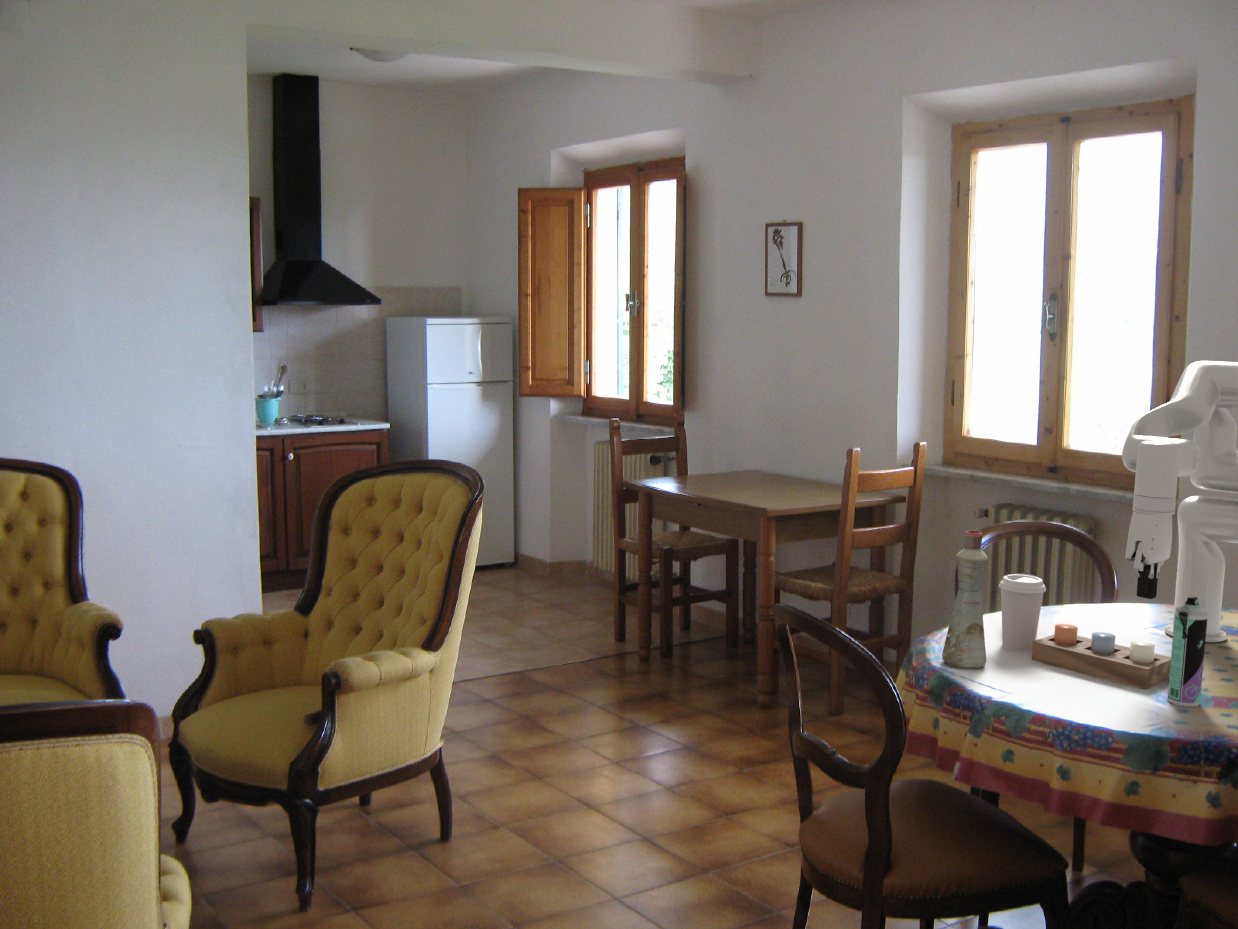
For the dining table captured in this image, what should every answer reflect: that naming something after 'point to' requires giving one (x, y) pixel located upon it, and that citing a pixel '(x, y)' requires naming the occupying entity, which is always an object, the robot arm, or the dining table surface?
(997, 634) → the dining table surface
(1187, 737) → the dining table surface
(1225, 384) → the robot arm
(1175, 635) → the spray can
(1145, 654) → the cream cylinder
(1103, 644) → the blue-grey egg
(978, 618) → the bottle
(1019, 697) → the dining table surface
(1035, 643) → the wooden egg holder
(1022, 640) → the coffee cup
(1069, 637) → the rust egg
